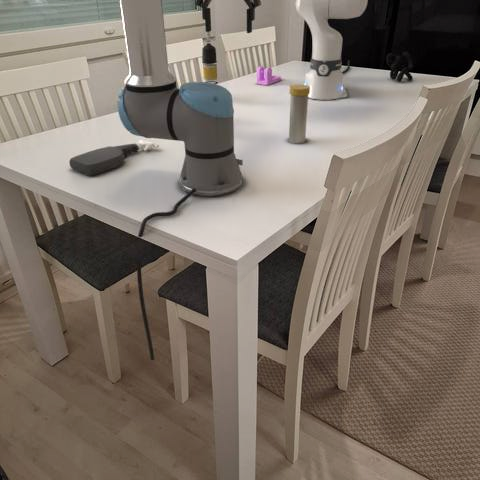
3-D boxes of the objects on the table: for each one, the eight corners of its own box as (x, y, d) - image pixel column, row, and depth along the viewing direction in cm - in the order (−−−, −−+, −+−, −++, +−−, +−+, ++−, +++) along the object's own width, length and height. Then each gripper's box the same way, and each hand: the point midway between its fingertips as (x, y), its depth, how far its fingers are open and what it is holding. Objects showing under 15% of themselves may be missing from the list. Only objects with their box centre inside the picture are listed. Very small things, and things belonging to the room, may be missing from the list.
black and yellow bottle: (220, 99, 177) (217, 15, 161) (206, 100, 176) (202, 16, 160) (215, 96, 182) (212, 14, 166) (202, 97, 180) (197, 14, 164)
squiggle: (400, 92, 202) (376, 71, 205) (417, 76, 202) (392, 56, 205) (405, 81, 191) (380, 59, 194) (423, 64, 191) (397, 42, 194)
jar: (305, 138, 137) (308, 86, 129) (305, 143, 133) (308, 90, 125) (289, 137, 138) (291, 86, 130) (288, 143, 134) (290, 90, 126)
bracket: (267, 85, 196) (267, 68, 192) (256, 83, 199) (256, 67, 195) (282, 79, 205) (283, 63, 201) (272, 78, 208) (273, 62, 204)
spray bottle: (67, 168, 120) (139, 144, 136) (91, 178, 114) (163, 151, 130) (65, 157, 118) (137, 134, 134) (89, 167, 112) (162, 142, 128)
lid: (309, 91, 130) (309, 84, 129) (309, 96, 125) (309, 89, 124) (289, 90, 131) (290, 84, 130) (289, 95, 126) (289, 89, 125)
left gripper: (272, -51, 127) (270, 31, 138) (192, -49, 134) (197, 29, 145) (264, -51, 121) (263, 34, 132) (181, -49, 128) (187, 32, 139)
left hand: (228, 32), depth 139 cm, fingers open, 13 cm apart
